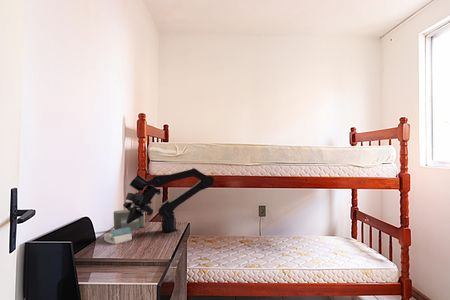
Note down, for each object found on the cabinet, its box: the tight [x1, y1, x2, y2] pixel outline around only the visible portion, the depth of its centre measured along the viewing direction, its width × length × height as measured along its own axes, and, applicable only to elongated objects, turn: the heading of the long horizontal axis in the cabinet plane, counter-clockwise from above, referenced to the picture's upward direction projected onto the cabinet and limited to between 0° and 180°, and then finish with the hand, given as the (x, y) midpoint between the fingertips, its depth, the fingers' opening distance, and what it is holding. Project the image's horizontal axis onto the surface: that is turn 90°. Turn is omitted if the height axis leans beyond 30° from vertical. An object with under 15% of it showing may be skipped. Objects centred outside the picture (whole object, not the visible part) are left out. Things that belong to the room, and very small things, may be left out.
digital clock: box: [113, 209, 146, 231], centre depth 164 cm, size 16×9×11 cm, turn 98°
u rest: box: [103, 232, 133, 245], centre depth 140 cm, size 8×10×3 cm
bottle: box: [108, 227, 132, 241], centre depth 141 cm, size 5×5×10 cm
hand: (127, 223), depth 144 cm, fingers closed
